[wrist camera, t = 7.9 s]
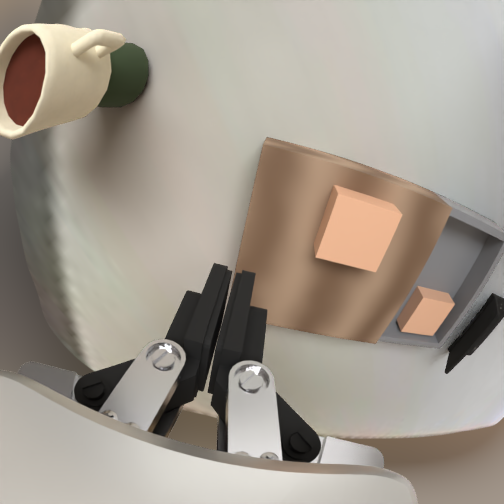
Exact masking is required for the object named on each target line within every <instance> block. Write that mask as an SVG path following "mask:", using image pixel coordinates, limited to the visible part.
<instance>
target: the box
mask: <svg viewBox="0 0 504 504" xmlns="http://www.w3.org/2000/svg"><path fill="white" fill-rule="evenodd" d="M434 193H435V192H434ZM435 194H436V195H437V196H439V197H440V198H441V199H442V200H444V201H445V202H446V203H447V204H448V205H449V206H451V207H452V211H451V213H450V215H449V217H448V220H447V222H446V224H445V226H444V228H443V231H442V233H441V235H440V237H439V239H438V241H437V243H436V245H435V247H434V249H433V251H432V253H431V255H430V257H429V258H428V260H427V262H426V264H425V266H424V268H423V270H422V271H421V273H420V275H419V277H418V279H417V280H416V282H415V284H414V285H413V287H412V289H411V291H410V292H409V294H408V296H407V297H406V299H405V300H404V302H403V304H402V305H401V307H400V308H399V310H398V312H397V313H396V315H395V316H394V318H393V319H392V321H391V322H390V324H389V325H388V327H387V328H386V330H385V331H384V333H383V334H382V335H381V337H380V338H379V340H378V341H383V342H390V343H397V344H405V345H413V346H421V347H430V348H440V347H441V346H442V345H443V344H444V342H445V341H446V340H447V339H448V337H449V336H450V335H451V333H452V332H453V331H454V330H455V328H456V327H457V326H458V324H459V323H460V322H461V320H462V319H463V317H464V316H465V315H466V313H467V312H468V310H469V309H470V307H471V306H472V305H473V303H474V302H475V300H476V299H477V297H478V295H479V294H480V292H481V291H482V289H483V288H484V286H485V284H486V283H487V281H488V279H489V278H490V276H491V274H492V273H493V271H494V269H495V267H496V266H497V264H498V262H499V260H500V258H501V257H502V255H503V253H504V230H503V229H502V228H501V227H499V226H498V225H497V224H496V223H495V222H493V221H491V220H490V219H488V218H486V217H484V216H482V215H480V214H478V213H476V212H474V211H473V210H471V209H469V208H467V207H465V206H462V205H460V204H458V203H456V202H454V201H452V200H450V199H448V198H446V197H444V196H441V195H439V194H437V193H435ZM417 286H421V287H425V288H429V289H433V290H437V291H441V292H446V293H449V295H450V297H451V298H452V300H453V302H454V303H455V305H454V307H453V308H452V309H451V311H450V312H449V314H448V315H447V317H446V318H445V320H444V321H443V322H442V324H441V325H440V327H439V328H438V329H437V331H436V332H435V333H434V335H433V336H430V335H422V334H415V333H408V332H401V330H400V328H399V325H398V322H397V318H398V316H399V315H400V313H401V312H402V310H403V309H404V307H405V305H406V304H407V302H408V300H409V299H410V297H411V295H412V294H413V292H414V290H415V289H416V287H417Z"/></svg>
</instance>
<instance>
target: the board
mask: <svg viewBox="0 0 504 504" xmlns="http://www.w3.org/2000/svg"><path fill="white" fill-rule="evenodd" d="M333 185H337V186H340V187H343V188H347V189H350V190H353V191H356V192H359V193H362V194H366V195H369V196H372V197H375V198H378V199H381V200H383V201H386V202H389V203H392V204H394V205H395V206H396V207H397V209H398V210H399V211H400V212H401V213H402V214H403V215H402V217H401V219H400V222H399V224H398V226H397V229H396V231H395V233H394V235H393V238H392V240H391V242H390V244H389V246H388V248H387V250H386V253H385V255H384V257H383V259H382V261H381V263H380V265H379V267H378V269H377V271H376V272H372V271H368V270H364V269H360V268H356V267H352V266H348V265H344V264H340V263H336V262H332V261H328V260H324V259H320V258H316V257H315V250H314V241H315V238H316V236H317V233H318V230H319V227H320V224H321V221H322V218H323V216H324V213H325V210H326V207H327V204H328V201H329V198H330V195H331V192H332V189H333ZM451 211H452V207H451V206H449V205H448V204H447V203H446V202H445V201H444V200H442V199H441V198H440V197H439V196H437V195H436V194H435V193H434V192H432V191H430V190H428V189H425V188H423V187H421V186H418V185H416V184H414V183H411V182H409V181H406V180H404V179H401V178H399V177H396V176H393V175H391V174H388V173H385V172H383V171H380V170H377V169H374V168H372V167H369V166H366V165H363V164H360V163H357V162H354V161H351V160H348V159H345V158H342V157H338V156H335V155H332V154H329V153H325V152H322V151H318V150H315V149H311V148H308V147H304V146H300V145H297V144H293V143H289V142H285V141H281V140H277V139H273V138H268V137H267V138H266V140H265V142H264V144H263V147H262V151H261V156H260V160H259V165H258V169H257V174H256V178H255V182H254V187H253V191H252V196H251V200H250V205H249V209H248V214H247V218H246V223H245V228H244V232H243V237H242V241H241V246H240V251H239V255H238V260H237V265H236V269H235V274H234V278H235V275H236V272H238V273H242V270H245V271H249V272H254V273H256V275H255V281H254V286H253V292H252V298H251V303H250V306H254V307H259V308H263V309H267V322H266V324H270V325H275V326H279V327H284V328H289V329H294V330H299V331H304V332H309V333H315V334H320V335H325V336H331V337H337V338H343V339H349V340H355V341H361V342H368V343H374V344H376V343H377V341H378V340H379V338H380V337H381V335H382V334H383V333H384V331H385V330H386V328H387V327H388V325H389V324H390V322H391V321H392V319H393V318H394V316H395V315H396V313H397V312H398V310H399V308H400V307H401V305H402V304H403V302H404V300H405V299H406V297H407V296H408V294H409V292H410V291H411V289H412V287H413V285H414V284H415V282H416V280H417V279H418V277H419V275H420V273H421V271H422V270H423V268H424V266H425V264H426V262H427V260H428V258H429V257H430V255H431V253H432V251H433V249H434V247H435V245H436V243H437V241H438V239H439V237H440V235H441V233H442V231H443V228H444V226H445V224H446V222H447V220H448V217H449V215H450V213H451ZM233 282H234V279H233ZM232 286H233V283H232ZM231 289H232V288H231Z"/></svg>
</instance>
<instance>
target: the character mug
mask: <svg viewBox="0 0 504 504" xmlns="http://www.w3.org/2000/svg"><path fill="white" fill-rule="evenodd" d="M125 41H126V39H125V38H124V37H123V36H122V34H120V33H116V32H112V31H108V30H103V29H97V30H94V31H92V30H90V29H89V28H74V27H71V26H67V25H61V24H28V25H22V26H20V27H19V28H17V29H15V30H14V31H13V32H12V33H10V34H9V35H8V36H7V38H6V39H5V40H4V42H3V43H2V45H1V46H0V135H1V136H3V137H6V138H9V139H15V138H19V137H22V136H24V135H27V134H30V133H33V132H36V131H39V130H43V129H46V128H49V127H53V126H56V125H60V124H63V123H67V122H70V121H74V120H77V119H81V118H83V117H86V116H87V115H88V114H89V113H90V112H91V111H92V110H93V109H95V108H96V107H122V106H124V105H127V104H129V103H131V102H133V101H134V100H135V99H136V98H137V97H138V96H139V95H140V93H141V92H142V91H143V89H144V87H145V84H146V81H147V78H148V59H147V57H146V54H145V52H144V50H143V49H142V48H140V47H138V46H137V45H135V44H133V43H125Z"/></svg>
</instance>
